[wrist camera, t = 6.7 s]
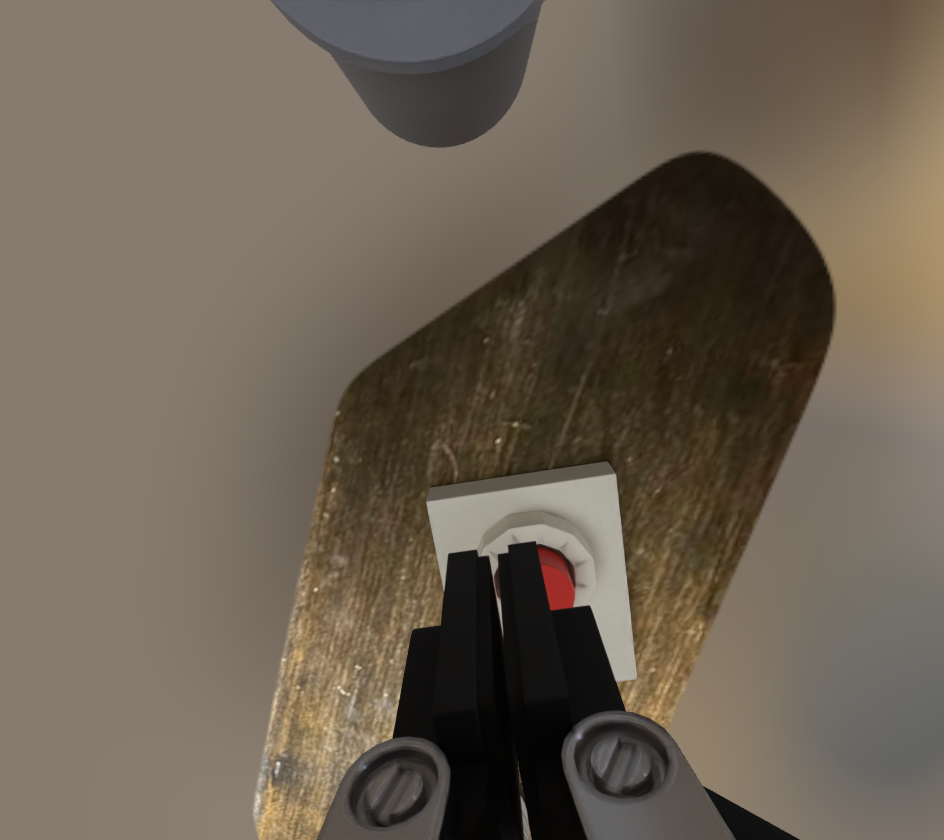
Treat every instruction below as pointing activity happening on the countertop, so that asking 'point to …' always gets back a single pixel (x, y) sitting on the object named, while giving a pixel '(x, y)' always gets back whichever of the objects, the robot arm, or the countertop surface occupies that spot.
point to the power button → (556, 580)
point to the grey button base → (548, 538)
